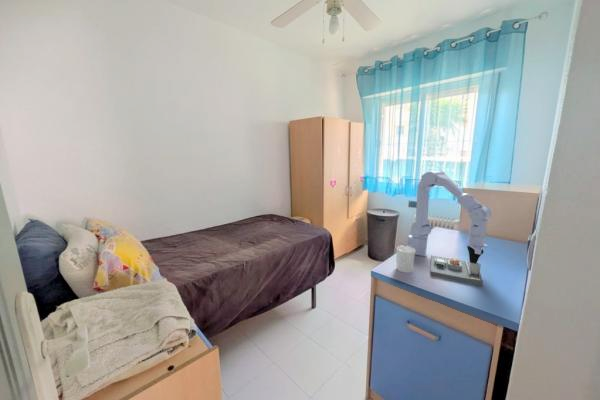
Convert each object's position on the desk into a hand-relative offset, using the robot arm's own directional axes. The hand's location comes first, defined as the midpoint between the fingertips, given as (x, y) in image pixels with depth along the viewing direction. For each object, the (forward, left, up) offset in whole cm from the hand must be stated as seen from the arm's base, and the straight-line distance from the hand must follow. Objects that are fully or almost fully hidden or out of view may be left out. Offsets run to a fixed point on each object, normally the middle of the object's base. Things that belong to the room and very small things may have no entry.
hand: (472, 263), depth 108 cm
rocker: (-12, -2, -1) cm, 13 cm away
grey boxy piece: (0, -5, -2) cm, 6 cm away
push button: (-7, -2, -2) cm, 8 cm away
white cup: (-27, -10, -5) cm, 29 cm away
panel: (-7, -2, -5) cm, 9 cm away
